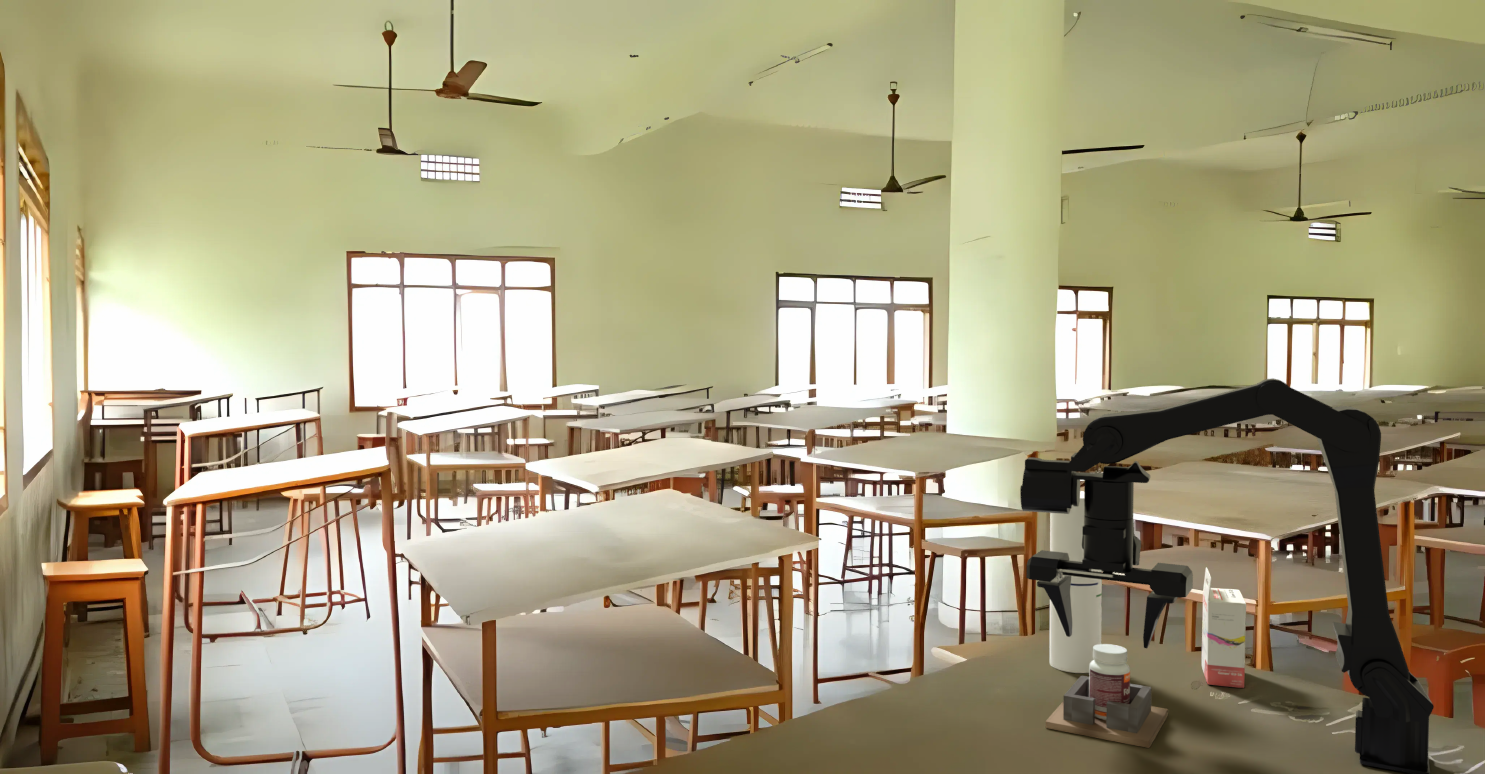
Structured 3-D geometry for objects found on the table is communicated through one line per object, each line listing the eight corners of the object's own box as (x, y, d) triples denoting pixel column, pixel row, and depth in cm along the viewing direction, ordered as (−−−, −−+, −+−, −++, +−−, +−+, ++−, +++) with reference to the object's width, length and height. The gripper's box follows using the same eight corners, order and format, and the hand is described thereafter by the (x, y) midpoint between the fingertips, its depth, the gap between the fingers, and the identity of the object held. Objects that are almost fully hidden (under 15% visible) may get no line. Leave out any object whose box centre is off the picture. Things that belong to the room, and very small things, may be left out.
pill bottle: (1132, 723, 124) (1133, 655, 123) (1091, 720, 125) (1092, 653, 124) (1126, 709, 128) (1127, 643, 128) (1086, 706, 129) (1087, 641, 129)
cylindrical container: (1039, 661, 150) (1039, 492, 149) (1076, 654, 153) (1077, 489, 152) (1073, 675, 144) (1074, 499, 142) (1112, 668, 147) (1113, 495, 145)
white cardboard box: (1246, 689, 138) (1248, 581, 137) (1206, 685, 139) (1207, 578, 138) (1238, 669, 146) (1240, 567, 145) (1200, 666, 147) (1202, 565, 147)
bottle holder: (1167, 714, 128) (1168, 685, 128) (1149, 747, 118) (1149, 715, 118) (1071, 697, 135) (1071, 669, 135) (1045, 727, 125) (1045, 696, 125)
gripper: (1200, 513, 127) (1198, 636, 128) (1050, 501, 137) (1049, 615, 138) (1186, 527, 118) (1184, 660, 119) (1025, 513, 128) (1024, 636, 129)
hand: (1107, 641), depth 126 cm, fingers open, 9 cm apart
